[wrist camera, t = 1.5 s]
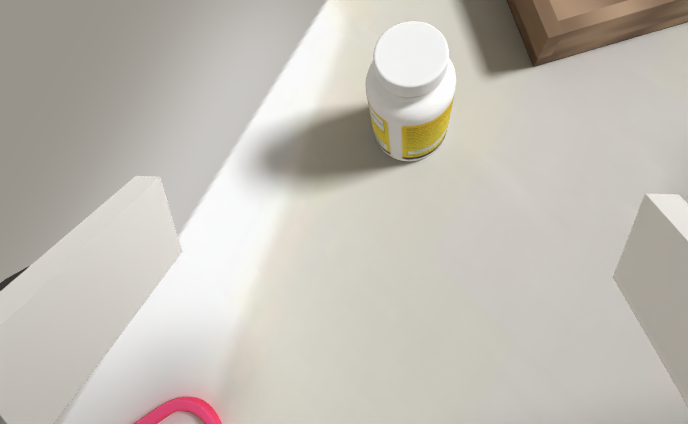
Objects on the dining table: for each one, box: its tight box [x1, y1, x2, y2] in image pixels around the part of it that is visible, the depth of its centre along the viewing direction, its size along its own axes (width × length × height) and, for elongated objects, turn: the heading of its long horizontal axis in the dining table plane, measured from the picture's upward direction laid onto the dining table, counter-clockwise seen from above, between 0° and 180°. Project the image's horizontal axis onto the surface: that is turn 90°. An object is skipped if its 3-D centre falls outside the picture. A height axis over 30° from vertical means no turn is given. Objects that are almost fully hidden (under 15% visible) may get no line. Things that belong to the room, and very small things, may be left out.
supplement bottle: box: [366, 21, 456, 161], centre depth 28 cm, size 5×5×10 cm
